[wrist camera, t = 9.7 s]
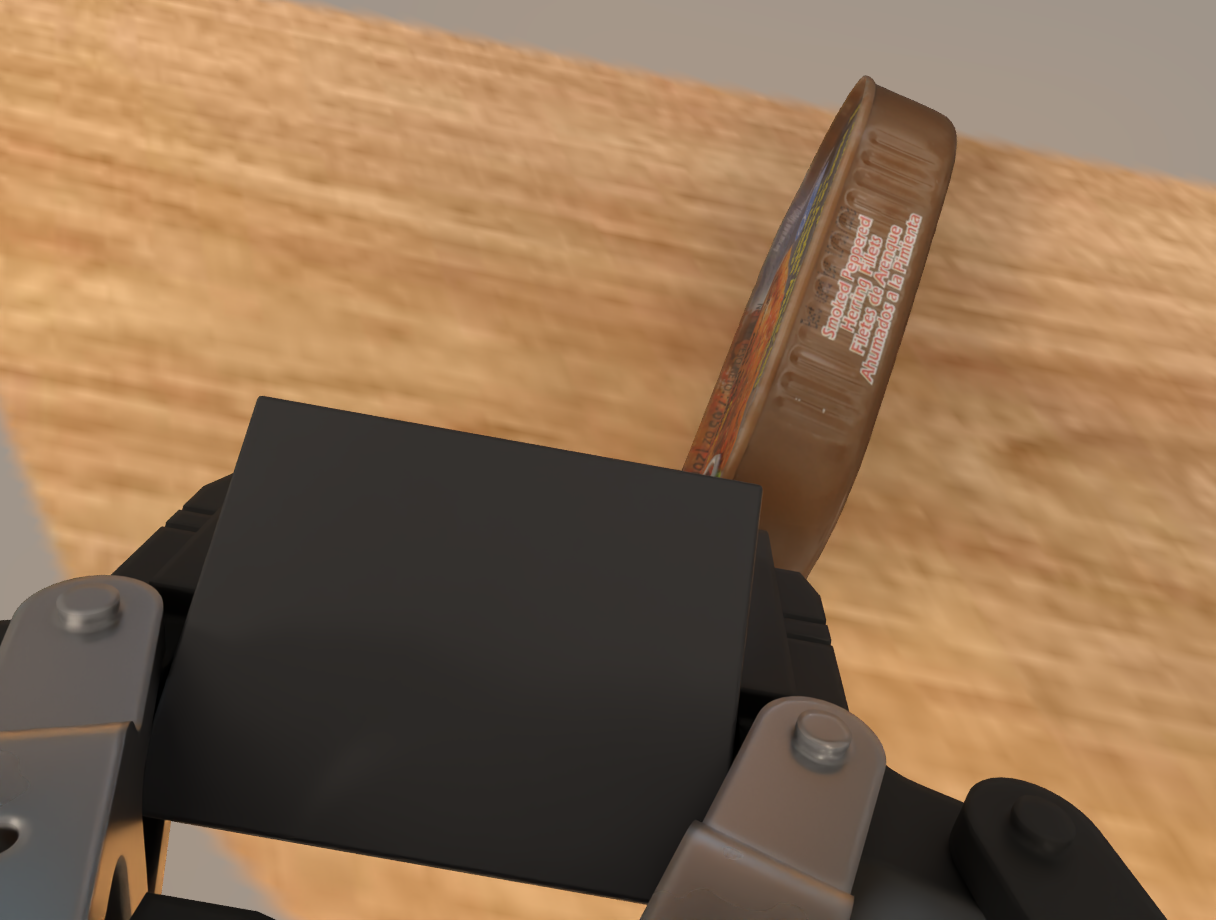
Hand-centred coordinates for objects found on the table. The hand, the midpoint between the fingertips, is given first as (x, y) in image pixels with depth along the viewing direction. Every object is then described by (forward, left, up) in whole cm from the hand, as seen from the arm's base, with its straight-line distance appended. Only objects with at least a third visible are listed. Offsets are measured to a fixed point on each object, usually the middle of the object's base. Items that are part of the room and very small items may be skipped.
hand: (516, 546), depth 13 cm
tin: (-5, -8, -12) cm, 16 cm away
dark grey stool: (0, +2, -4) cm, 5 cm away
